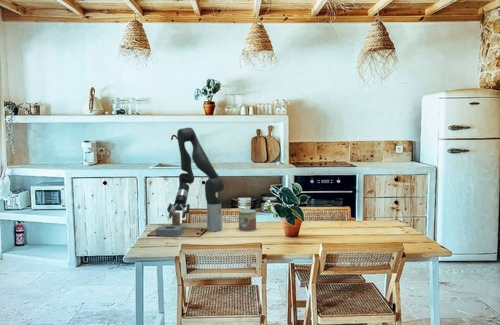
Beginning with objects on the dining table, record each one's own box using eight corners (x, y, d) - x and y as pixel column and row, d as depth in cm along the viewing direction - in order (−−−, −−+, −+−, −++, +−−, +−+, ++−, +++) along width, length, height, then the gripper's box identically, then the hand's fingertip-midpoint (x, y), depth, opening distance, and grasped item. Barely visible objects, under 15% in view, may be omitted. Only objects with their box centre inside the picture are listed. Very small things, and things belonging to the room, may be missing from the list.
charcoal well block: (183, 231, 281) (183, 225, 281) (177, 236, 269) (177, 230, 269) (162, 231, 284) (162, 225, 283) (155, 235, 272) (155, 229, 271)
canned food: (236, 230, 284) (235, 212, 283) (242, 226, 294) (242, 208, 293) (252, 231, 280) (252, 213, 279) (258, 228, 290) (258, 209, 289)
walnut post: (180, 228, 290) (179, 212, 289) (178, 230, 286) (177, 213, 285) (174, 228, 291) (174, 212, 290) (172, 230, 287) (171, 213, 286)
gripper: (170, 194, 297) (164, 214, 287) (190, 194, 295) (185, 214, 285) (172, 200, 303) (167, 220, 293) (193, 200, 301) (188, 221, 291)
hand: (176, 217), depth 289 cm, fingers open, 8 cm apart
